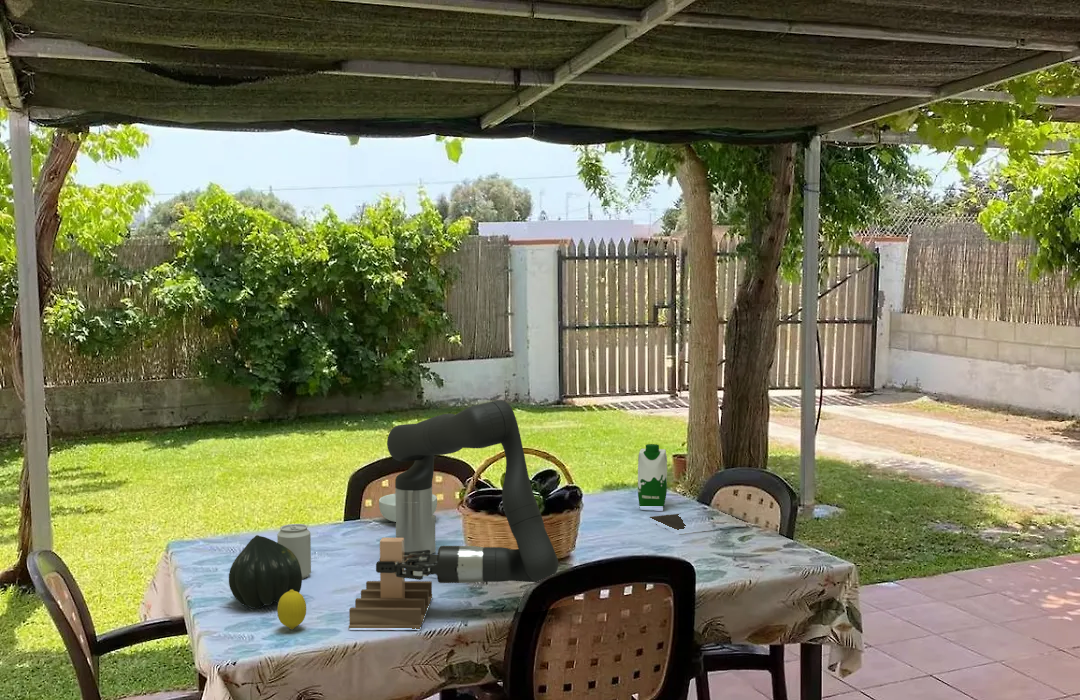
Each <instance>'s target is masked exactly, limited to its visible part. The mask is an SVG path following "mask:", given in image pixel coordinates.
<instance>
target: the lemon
mask: <svg viewBox="0 0 1080 700" xmlns="http://www.w3.org/2000/svg"><path fill="white" fill-rule="evenodd" d="M276 612H277V618H278V621H279V622H280V623H281V625H283V626H284V627H287V628H288V629H290V630H291V629H292V630H294V629H296V627H298V626H299V625H301V624H302V623H303V621H304V620H305V619H306V616H307V603H306V600H305V598H304V596H303V594H302V593H301V592H296V591H294V590H290V591H288V592H286V593H285V594H283V595H282V597H281V598H280V600H279V603H278V602H277V611H276Z"/></svg>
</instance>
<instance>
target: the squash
mask: <svg viewBox="0 0 1080 700" xmlns="http://www.w3.org/2000/svg"><path fill="white" fill-rule="evenodd" d="M302 583H303V579H302V573H301V567H300V564H299V561H298V559H297V557H296V556H295V554H294V553H293V552H292V551H291V550H289V549H288V548H286V547H285V546H283V545H281V544H279V543H278V542H277V541H275V540H273V539H270V538H268V537H266V536H263V535H258V534H257V535H255V536H254V537H252V539H250V541H249V542H248V543H247V544H246V545H245V547H244V548H243V549H242V551H241V552H240V553H239V554H238V555H237V556H236V558H235V559H234V561H233V562H232V564H231V567H230V569H229V573H228V585H229V589H230V591H231V593H232V595H233V597H234V598H235V600H237V602H238V603H240V604H241V605H242V606H246V607H249V608H252V609H261V608H262V607H264V606H270V605H272V604H273V602H274V603H277V604H278V603H279V600H280V598H281V597H282V595H283V594H285V593H286V592H288V591H290V590H294V591H296V592H299V593H301V590H302Z"/></svg>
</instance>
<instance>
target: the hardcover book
mask: <svg viewBox="0 0 1080 700" xmlns="http://www.w3.org/2000/svg"><path fill="white" fill-rule="evenodd" d="M718 510H719V509H718ZM719 511H721V512H723V513H725V514H728V515H731V516H732V517H735V518H736V519H739V520H742V521H744V522H747V524H748V523H749V521H748V520H745V519H743V518H741V517H738V516H735V515H733V514H730V513H727V512H725V511H722V510H719ZM679 514H680V513H676V514H675V513H674V514H663V515H655V516H652V515H651V516H650V517H649V518H652V519H654V520H656V521H658V522H661V523H663V524H665V525H667V526H669V527H672V528H674V529H677V530H679V529H684V528H685V527H684V526H686V525H685V524H684V523H683V520H682V519H681V517H679V516H678V515H679Z"/></svg>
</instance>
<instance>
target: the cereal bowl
mask: <svg viewBox="0 0 1080 700" xmlns="http://www.w3.org/2000/svg"><path fill="white" fill-rule="evenodd" d="M378 507H379V511H380V514H381V515H382V517H384V519H386V520H389V521H391V522H394V523H395V522H396V500H395V493H391V494H387V495H384V496H381V497H380V498H379V500H378ZM437 507H438V497H437V495H436V494H434V493H432V515H435V512H436V510H437Z"/></svg>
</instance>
